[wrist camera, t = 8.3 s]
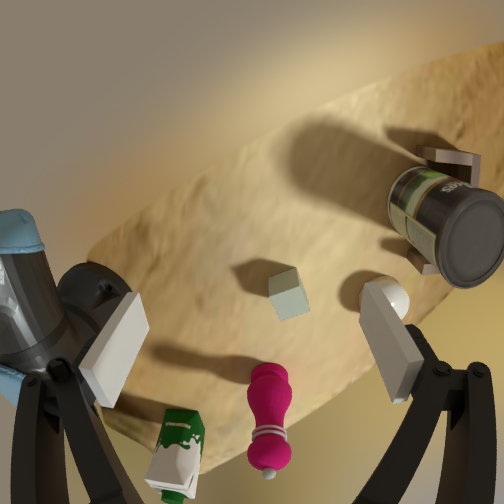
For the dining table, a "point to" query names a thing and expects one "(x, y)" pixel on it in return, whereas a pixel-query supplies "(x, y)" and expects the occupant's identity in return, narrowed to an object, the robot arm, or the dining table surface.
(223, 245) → the dining table surface
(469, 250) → the coffee can
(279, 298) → the sage block
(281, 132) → the dining table surface
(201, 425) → the milk carton
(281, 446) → the pepper mill
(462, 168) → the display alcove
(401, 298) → the white glossy round part
